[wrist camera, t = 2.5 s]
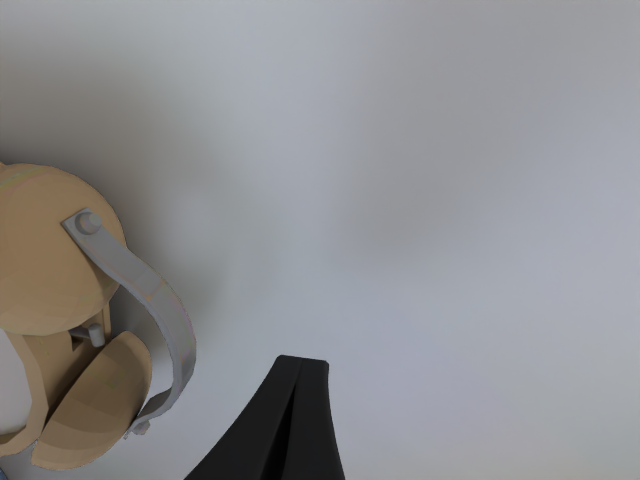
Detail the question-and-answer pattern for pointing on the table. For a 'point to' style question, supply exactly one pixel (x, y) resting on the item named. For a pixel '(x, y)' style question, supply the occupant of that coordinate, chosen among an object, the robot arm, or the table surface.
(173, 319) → the alarm clock
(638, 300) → the table surface
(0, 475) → the pen pot
